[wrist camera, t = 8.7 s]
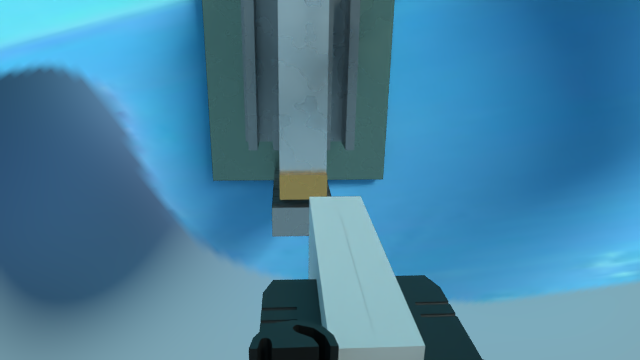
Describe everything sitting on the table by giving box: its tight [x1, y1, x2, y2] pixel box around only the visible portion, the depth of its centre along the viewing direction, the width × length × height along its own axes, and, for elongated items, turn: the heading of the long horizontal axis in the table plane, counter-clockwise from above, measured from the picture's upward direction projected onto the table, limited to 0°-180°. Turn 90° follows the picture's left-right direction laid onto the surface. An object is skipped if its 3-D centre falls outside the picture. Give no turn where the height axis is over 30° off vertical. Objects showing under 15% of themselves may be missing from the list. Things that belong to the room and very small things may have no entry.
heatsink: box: [202, 0, 395, 236], centre depth 31 cm, size 19×14×10 cm
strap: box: [278, 0, 329, 200], centre depth 28 cm, size 16×3×2 cm, turn 179°
